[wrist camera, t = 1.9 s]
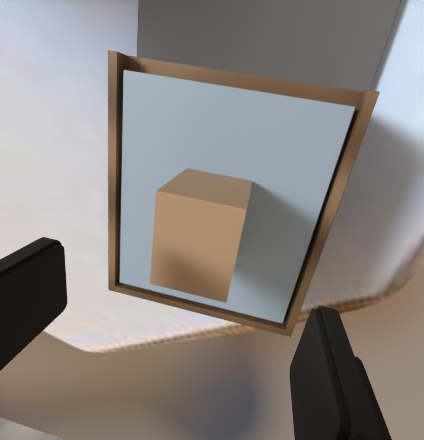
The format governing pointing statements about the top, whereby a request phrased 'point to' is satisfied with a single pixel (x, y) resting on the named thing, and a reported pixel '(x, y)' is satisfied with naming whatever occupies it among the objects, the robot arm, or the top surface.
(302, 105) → the lid
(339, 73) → the mat
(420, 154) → the top surface
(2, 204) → the top surface
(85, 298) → the top surface
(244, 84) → the walnut box
